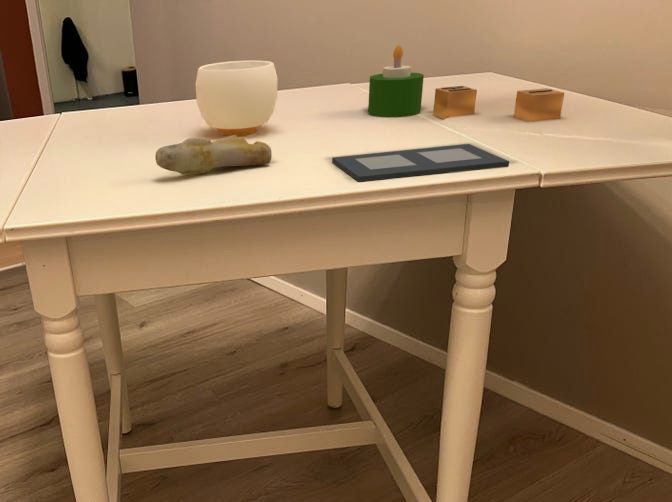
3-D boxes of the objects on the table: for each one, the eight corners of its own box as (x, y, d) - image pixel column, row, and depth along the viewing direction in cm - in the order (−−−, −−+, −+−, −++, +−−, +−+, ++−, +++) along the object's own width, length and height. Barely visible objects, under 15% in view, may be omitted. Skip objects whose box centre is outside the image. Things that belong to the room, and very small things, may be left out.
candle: (357, 114, 116) (360, 47, 111) (387, 105, 120) (391, 41, 115) (401, 118, 110) (406, 49, 105) (430, 109, 115) (436, 42, 110)
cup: (200, 143, 104) (196, 73, 99) (197, 127, 115) (193, 63, 110) (283, 137, 104) (283, 66, 99) (272, 121, 115) (271, 57, 110)
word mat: (468, 148, 91) (468, 143, 90) (508, 166, 82) (509, 160, 82) (331, 162, 89) (332, 156, 89) (358, 181, 80) (358, 175, 80)
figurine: (250, 138, 94) (144, 138, 88) (270, 126, 89) (160, 125, 83) (254, 177, 94) (149, 180, 88) (275, 167, 89) (165, 169, 83)
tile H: (460, 112, 111) (463, 84, 109) (473, 117, 107) (477, 88, 105) (432, 115, 111) (435, 87, 109) (445, 120, 107) (448, 91, 105)
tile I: (541, 116, 104) (546, 87, 102) (559, 122, 100) (565, 91, 98) (512, 119, 104) (517, 89, 102) (529, 125, 100) (534, 94, 98)
